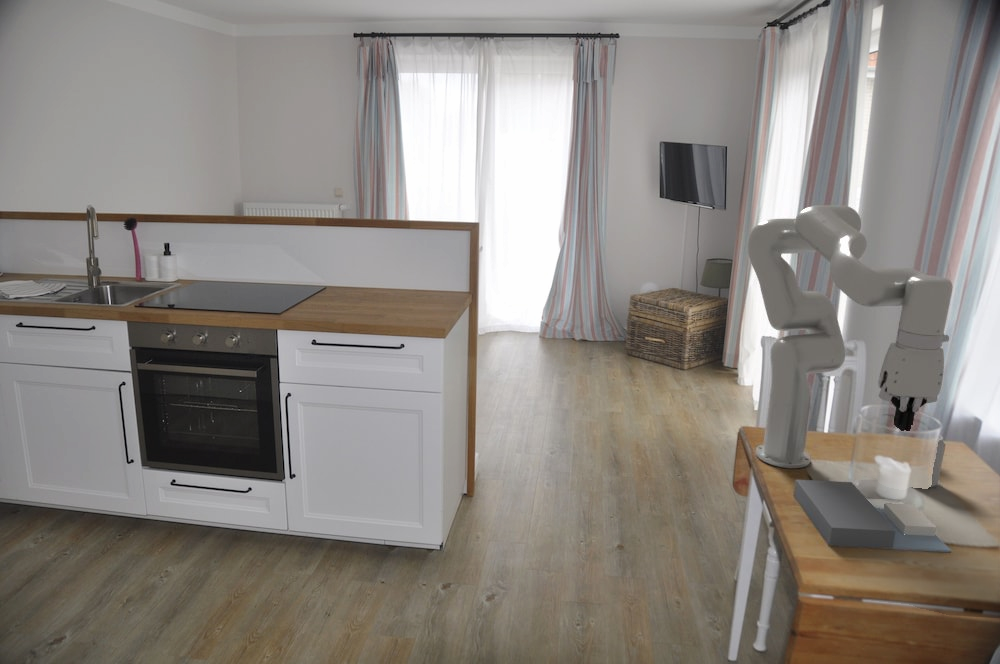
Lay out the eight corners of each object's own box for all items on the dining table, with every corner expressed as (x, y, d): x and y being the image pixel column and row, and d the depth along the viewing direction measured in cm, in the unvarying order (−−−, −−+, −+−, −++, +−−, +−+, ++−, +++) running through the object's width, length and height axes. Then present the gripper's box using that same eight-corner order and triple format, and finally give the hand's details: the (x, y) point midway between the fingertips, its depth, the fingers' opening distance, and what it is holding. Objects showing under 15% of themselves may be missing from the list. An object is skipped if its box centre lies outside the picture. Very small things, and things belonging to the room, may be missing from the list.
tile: (913, 504, 146) (912, 513, 147) (884, 503, 147) (883, 511, 147) (936, 527, 138) (934, 536, 138) (905, 525, 138) (903, 534, 139)
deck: (793, 495, 154) (795, 479, 153) (848, 498, 153) (851, 482, 152) (828, 545, 135) (831, 527, 134) (892, 549, 134) (895, 530, 133)
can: (942, 491, 158) (952, 442, 154) (906, 487, 159) (916, 439, 156) (929, 476, 165) (939, 429, 162) (895, 473, 166) (904, 426, 163)
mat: (848, 498, 153) (849, 497, 153) (900, 501, 153) (900, 499, 153) (892, 549, 134) (892, 547, 134) (951, 552, 133) (951, 550, 133)
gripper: (947, 336, 137) (930, 422, 142) (870, 333, 137) (855, 419, 142) (970, 346, 129) (951, 437, 134) (888, 343, 130) (872, 434, 135)
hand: (902, 427), depth 138 cm, fingers closed
